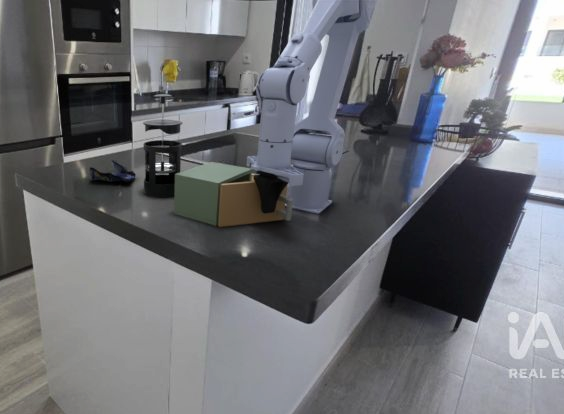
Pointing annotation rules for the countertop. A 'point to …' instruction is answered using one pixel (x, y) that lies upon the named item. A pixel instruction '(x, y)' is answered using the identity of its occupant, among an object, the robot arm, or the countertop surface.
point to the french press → (162, 183)
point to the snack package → (117, 176)
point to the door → (248, 205)
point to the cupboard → (205, 189)
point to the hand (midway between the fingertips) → (267, 212)
